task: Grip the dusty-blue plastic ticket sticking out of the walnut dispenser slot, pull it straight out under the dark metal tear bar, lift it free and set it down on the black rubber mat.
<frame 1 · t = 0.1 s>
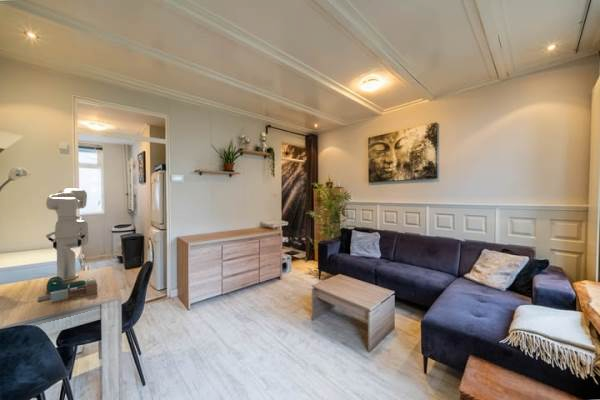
hand: (67, 247, 136), 31 cm above the table, fingers open, 9 cm apart
dispenser: (77, 295, 141), on the table
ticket: (64, 298, 137), on the table
mat: (48, 297, 137), on the table
dark green elongated piece: (67, 287, 153), on the table
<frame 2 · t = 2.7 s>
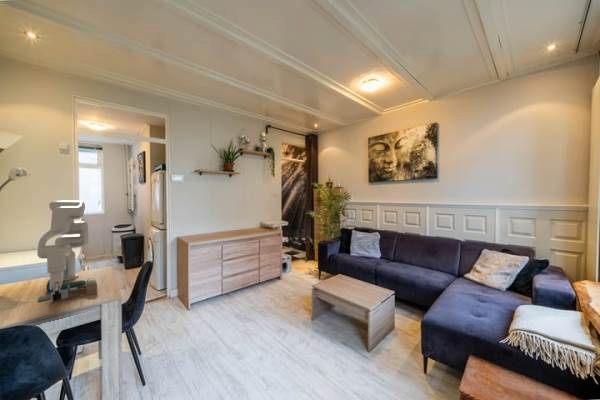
hand: (57, 298, 136), 1 cm above the table, fingers open, 4 cm apart
nothing on the table moved.
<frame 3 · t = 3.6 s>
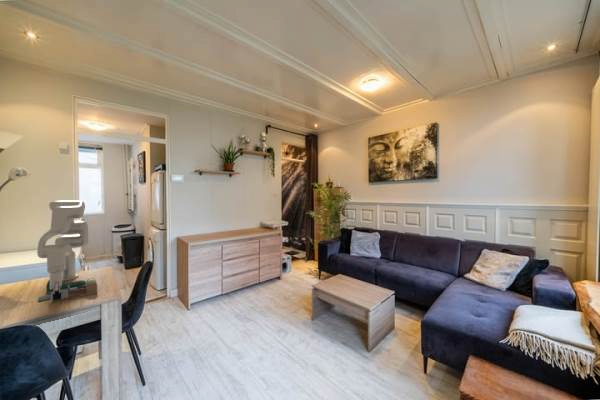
hand: (57, 297, 136), 1 cm above the table, fingers open, 3 cm apart
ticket: (64, 298, 138), on the table, touching dispenser, gripper
everything else where it was.
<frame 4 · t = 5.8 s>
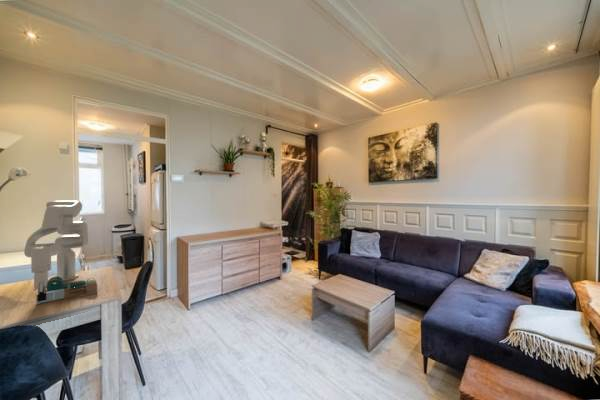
hand: (42, 299, 131), 2 cm above the table, fingers closed on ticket, 2 cm apart
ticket: (50, 300, 133), on the table, touching gripper
everything else where it was.
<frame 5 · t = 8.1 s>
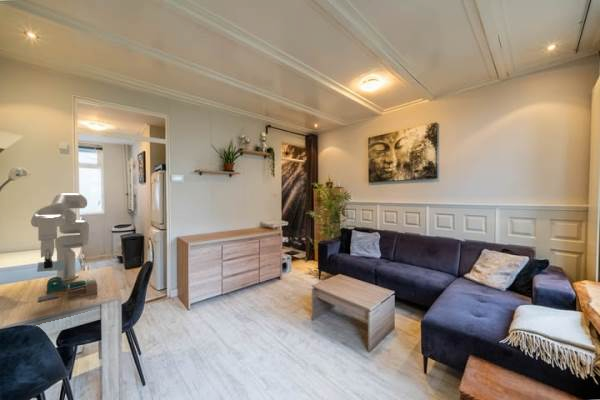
hand: (48, 267, 137), 19 cm above the table, fingers closed on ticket
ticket: (50, 270, 137), point 17 cm above the table, tilted 7°, touching gripper
everything else where it was.
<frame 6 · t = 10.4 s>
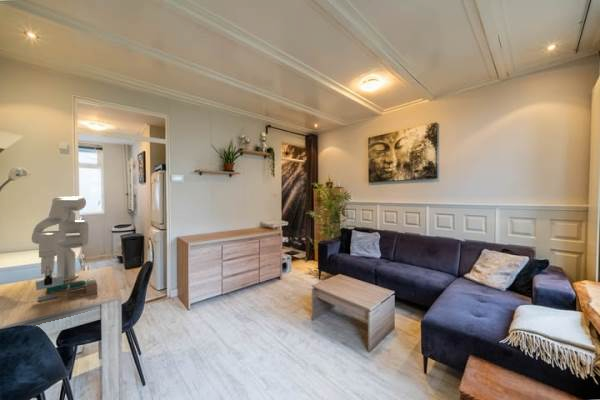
hand: (48, 283, 137), 9 cm above the table, fingers closed on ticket
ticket: (50, 286, 137), point 7 cm above the table, touching gripper
everything else where it was.
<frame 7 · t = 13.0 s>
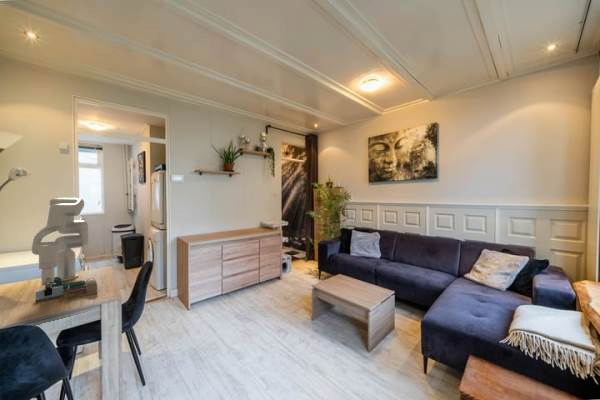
hand: (48, 292, 137), 3 cm above the table, fingers open, 9 cm apart
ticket: (49, 296, 137), point 1 cm above the table, touching mat
everything else where it was.
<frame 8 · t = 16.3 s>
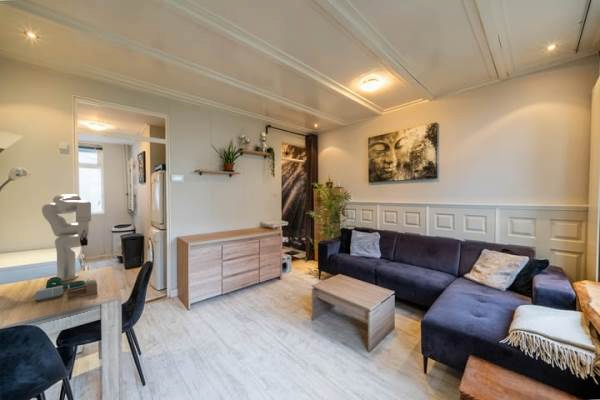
hand: (83, 244, 156), 28 cm above the table, fingers open, 9 cm apart
nothing on the table moved.
at the end: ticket inside the target area on the mat (0.3 cm from its centre), point 0.6 cm above the mat's base; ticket touching mat; the gripper is holding nothing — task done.
